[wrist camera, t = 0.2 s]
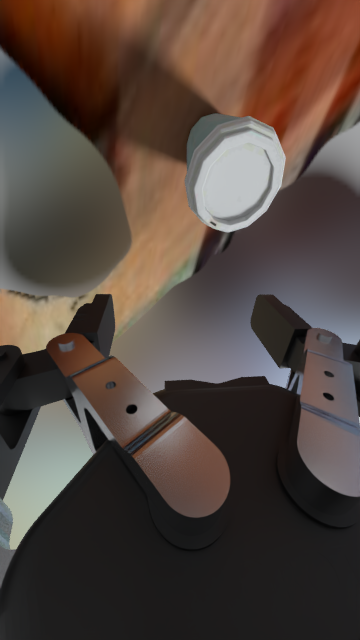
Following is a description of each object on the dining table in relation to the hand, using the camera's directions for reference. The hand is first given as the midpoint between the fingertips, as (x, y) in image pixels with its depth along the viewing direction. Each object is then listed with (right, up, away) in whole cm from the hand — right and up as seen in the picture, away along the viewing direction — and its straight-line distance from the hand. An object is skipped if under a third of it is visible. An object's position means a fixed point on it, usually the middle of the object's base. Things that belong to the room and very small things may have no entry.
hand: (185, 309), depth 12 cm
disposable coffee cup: (+4, +25, +20) cm, 32 cm away
